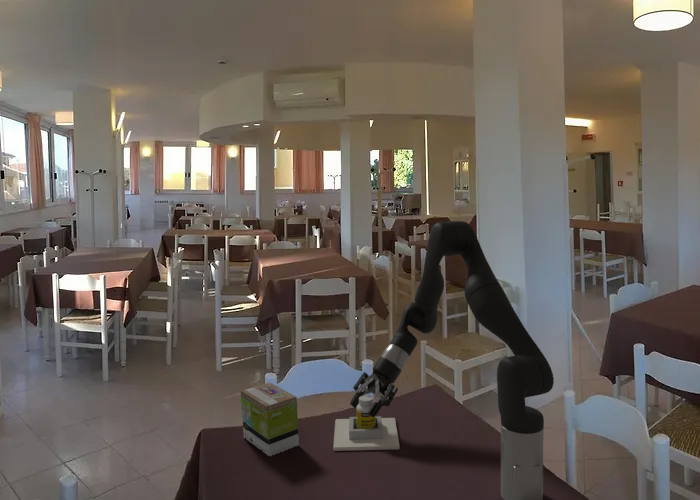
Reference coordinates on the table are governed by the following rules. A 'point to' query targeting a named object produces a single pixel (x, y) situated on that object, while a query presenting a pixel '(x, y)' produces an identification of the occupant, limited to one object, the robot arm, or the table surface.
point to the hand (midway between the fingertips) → (361, 410)
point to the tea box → (270, 418)
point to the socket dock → (365, 435)
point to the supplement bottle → (365, 413)
